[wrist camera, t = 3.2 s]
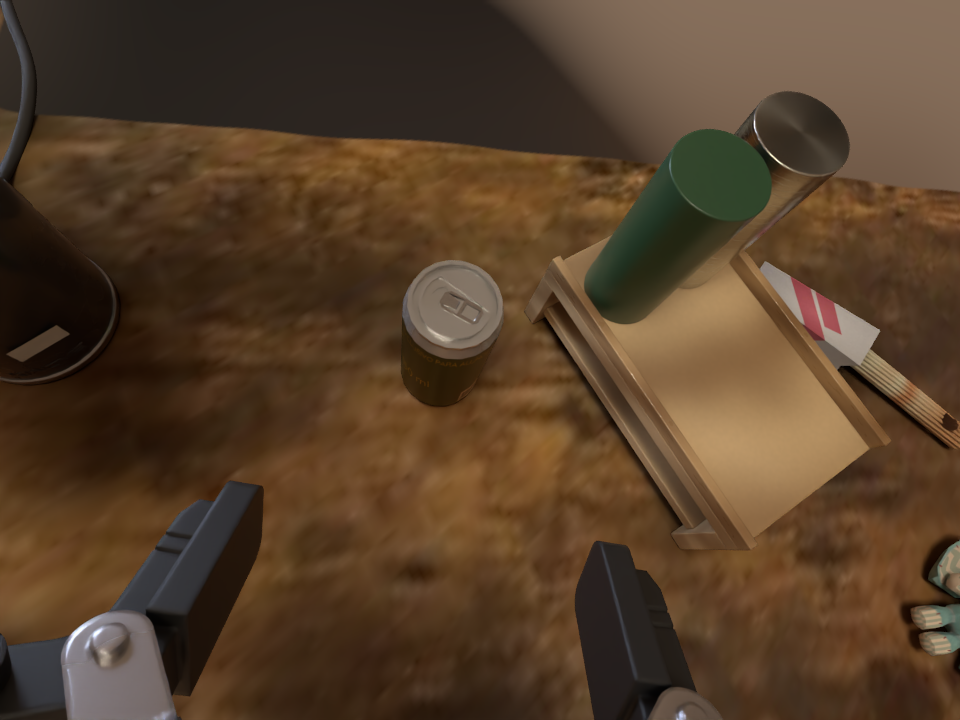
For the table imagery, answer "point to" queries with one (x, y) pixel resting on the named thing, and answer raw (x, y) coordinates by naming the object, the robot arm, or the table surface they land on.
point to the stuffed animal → (956, 576)
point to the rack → (715, 329)
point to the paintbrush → (859, 352)
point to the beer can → (448, 330)
